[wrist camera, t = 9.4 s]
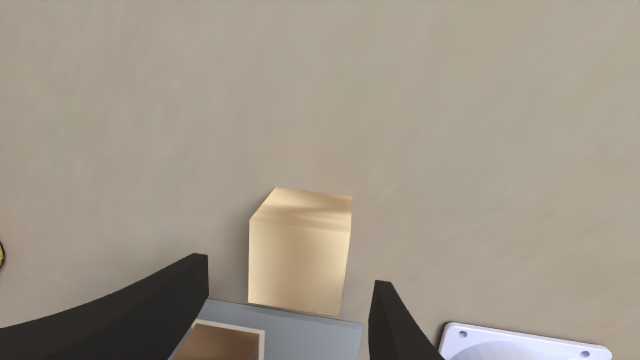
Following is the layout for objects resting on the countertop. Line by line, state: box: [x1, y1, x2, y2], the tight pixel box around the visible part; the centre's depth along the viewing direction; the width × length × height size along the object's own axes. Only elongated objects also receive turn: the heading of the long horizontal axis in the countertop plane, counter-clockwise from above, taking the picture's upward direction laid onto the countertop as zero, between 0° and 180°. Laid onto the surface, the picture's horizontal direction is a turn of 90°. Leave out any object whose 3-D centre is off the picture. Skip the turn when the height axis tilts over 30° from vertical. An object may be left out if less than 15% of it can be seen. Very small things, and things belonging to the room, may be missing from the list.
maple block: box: [248, 187, 352, 317], centre depth 16 cm, size 4×4×4 cm
